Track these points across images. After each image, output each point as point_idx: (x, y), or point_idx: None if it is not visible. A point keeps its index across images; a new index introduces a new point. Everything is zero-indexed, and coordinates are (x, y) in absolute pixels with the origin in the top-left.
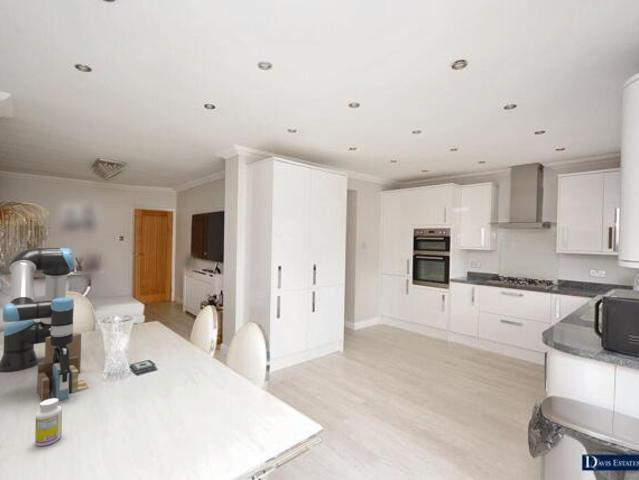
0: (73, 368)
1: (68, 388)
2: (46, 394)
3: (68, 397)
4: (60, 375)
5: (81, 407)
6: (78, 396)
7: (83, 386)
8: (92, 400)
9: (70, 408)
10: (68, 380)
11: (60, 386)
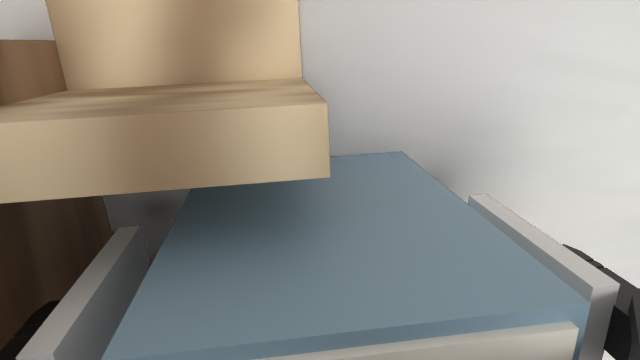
0: (143, 146)
1: (432, 180)
2: None
3: (403, 155)
4: (593, 357)
5: (634, 102)
6: (420, 88)
7: (258, 21)
8: (589, 15)
9: (585, 160)
10: (471, 214)
11: None
